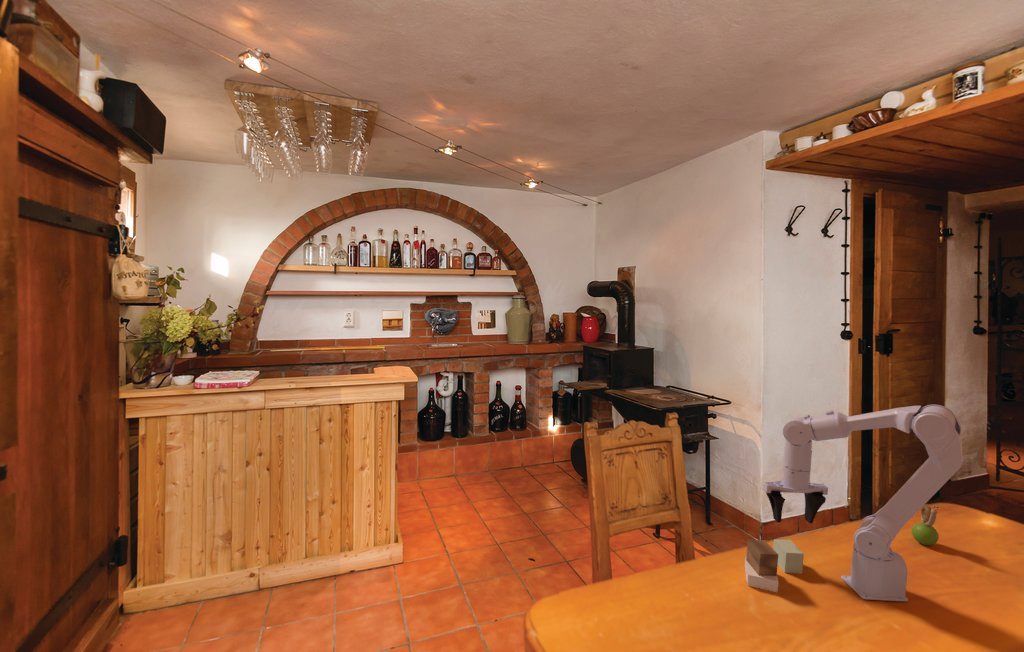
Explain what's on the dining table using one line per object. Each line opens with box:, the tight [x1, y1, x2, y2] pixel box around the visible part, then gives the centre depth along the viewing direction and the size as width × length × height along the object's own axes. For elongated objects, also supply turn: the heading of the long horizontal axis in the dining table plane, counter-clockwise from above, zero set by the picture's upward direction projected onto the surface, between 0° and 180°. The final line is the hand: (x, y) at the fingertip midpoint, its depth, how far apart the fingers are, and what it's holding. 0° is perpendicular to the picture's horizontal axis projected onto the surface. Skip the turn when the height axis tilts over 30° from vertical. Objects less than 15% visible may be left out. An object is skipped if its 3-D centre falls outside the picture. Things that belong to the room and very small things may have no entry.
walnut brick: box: [746, 539, 779, 577], centre depth 111 cm, size 4×6×5 cm, turn 179°
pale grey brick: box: [744, 555, 779, 594], centre depth 111 cm, size 6×8×3 cm
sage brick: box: [772, 538, 804, 575], centre depth 116 cm, size 4×6×5 cm, turn 177°
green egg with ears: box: [911, 504, 940, 546], centre depth 127 cm, size 5×6×12 cm
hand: (792, 520), depth 118 cm, fingers open, 7 cm apart
